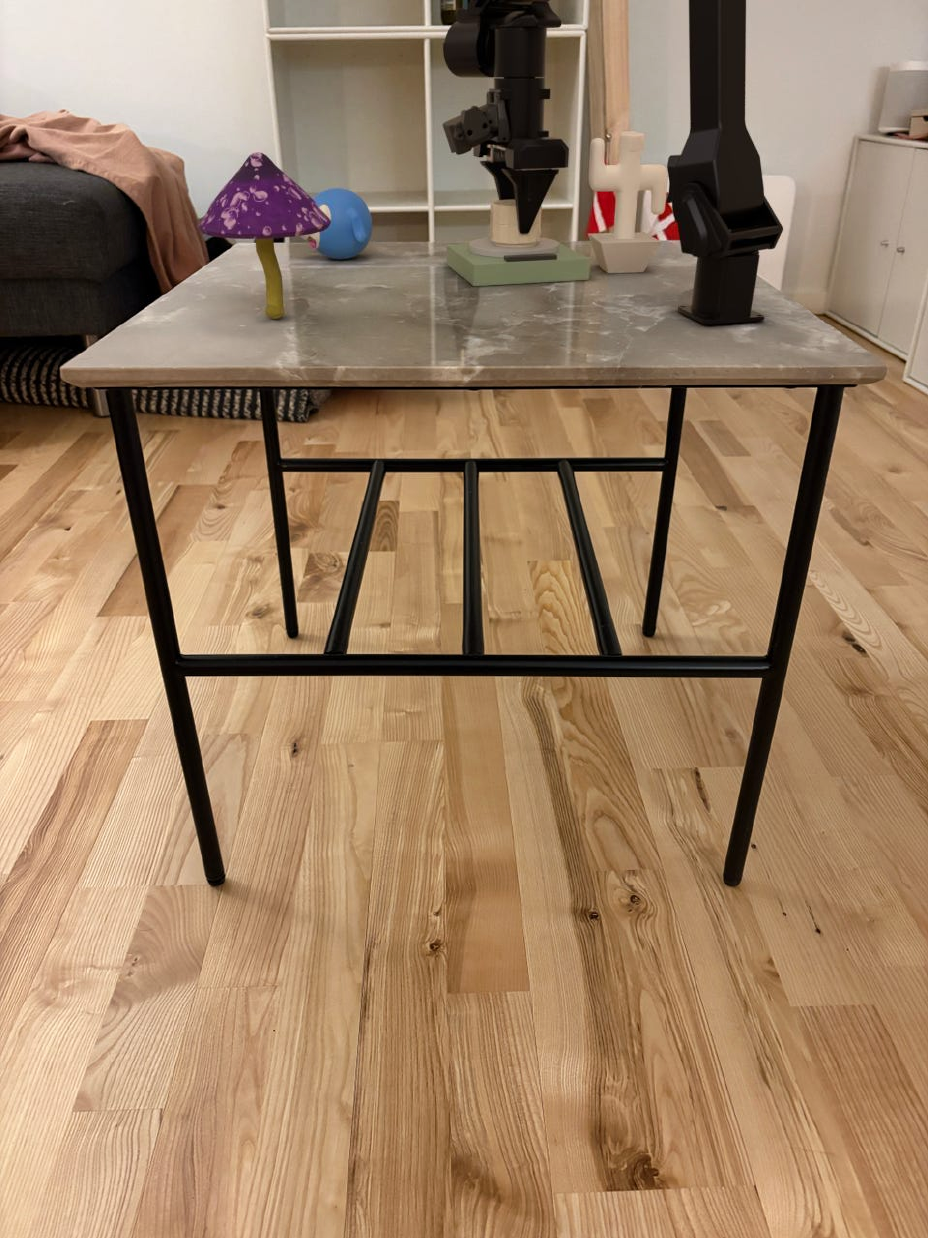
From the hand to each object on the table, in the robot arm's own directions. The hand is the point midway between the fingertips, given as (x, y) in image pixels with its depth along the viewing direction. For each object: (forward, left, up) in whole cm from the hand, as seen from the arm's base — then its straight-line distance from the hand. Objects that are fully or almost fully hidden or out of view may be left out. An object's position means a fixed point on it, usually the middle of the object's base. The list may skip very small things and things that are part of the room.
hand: (516, 229), depth 110 cm
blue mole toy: (+14, +21, -5) cm, 26 cm away
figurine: (-2, -13, -5) cm, 14 cm away
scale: (0, 0, -5) cm, 5 cm away
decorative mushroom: (-17, +30, -5) cm, 35 cm away
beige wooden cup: (0, 0, -2) cm, 2 cm away
